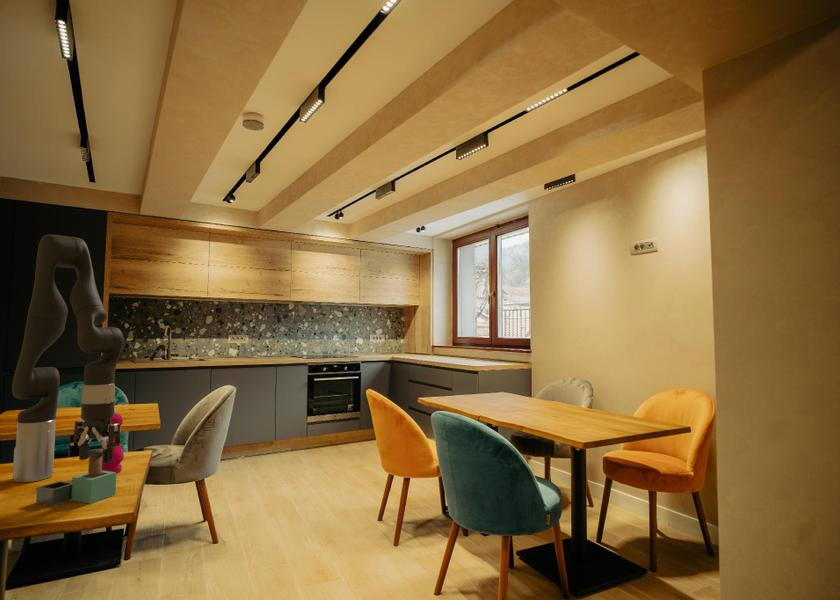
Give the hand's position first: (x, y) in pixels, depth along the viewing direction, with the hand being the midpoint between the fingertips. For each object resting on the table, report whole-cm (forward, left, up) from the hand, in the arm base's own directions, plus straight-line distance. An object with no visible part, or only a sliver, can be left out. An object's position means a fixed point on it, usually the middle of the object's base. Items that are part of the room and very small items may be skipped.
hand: (95, 461), depth 129 cm
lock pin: (0, 0, -10) cm, 10 cm away
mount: (-7, -5, -10) cm, 13 cm away
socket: (0, 0, -10) cm, 10 cm away
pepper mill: (-17, +18, -10) cm, 27 cm away
